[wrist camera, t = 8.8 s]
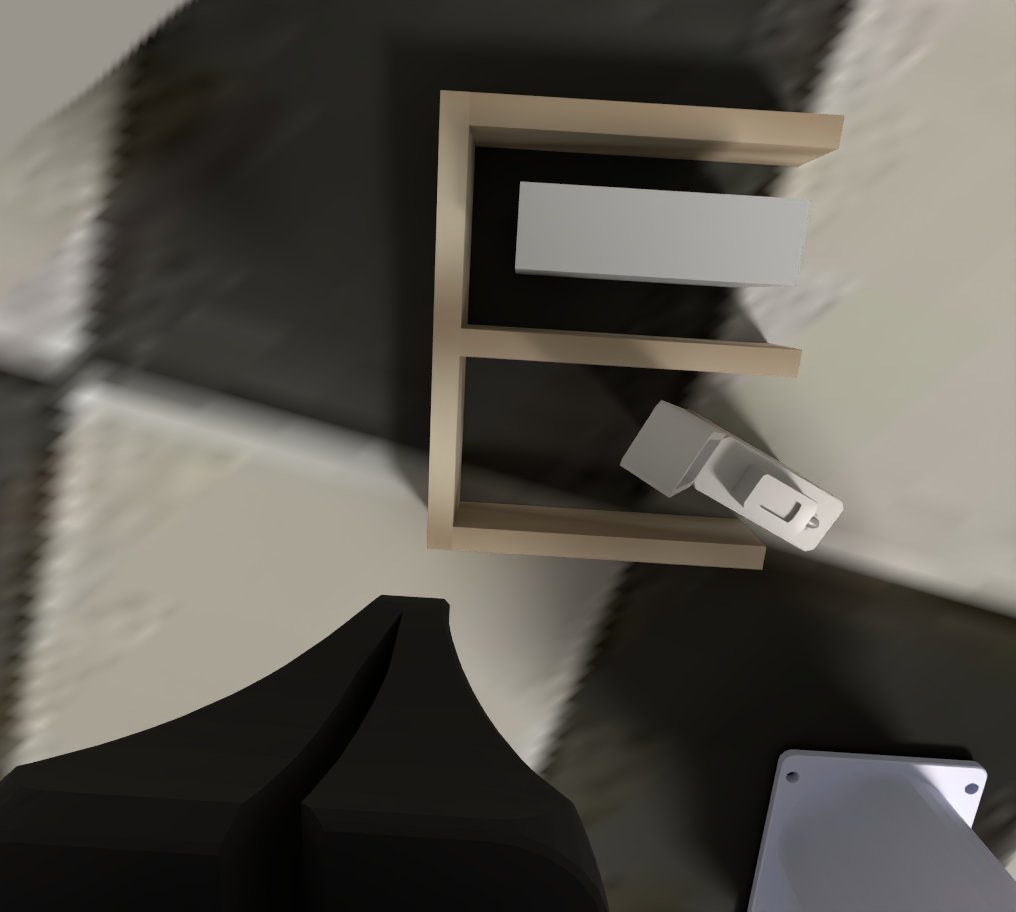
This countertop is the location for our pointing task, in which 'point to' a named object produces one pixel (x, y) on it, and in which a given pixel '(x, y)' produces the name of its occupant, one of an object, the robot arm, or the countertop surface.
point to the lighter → (729, 475)
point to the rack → (453, 338)
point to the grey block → (659, 235)
